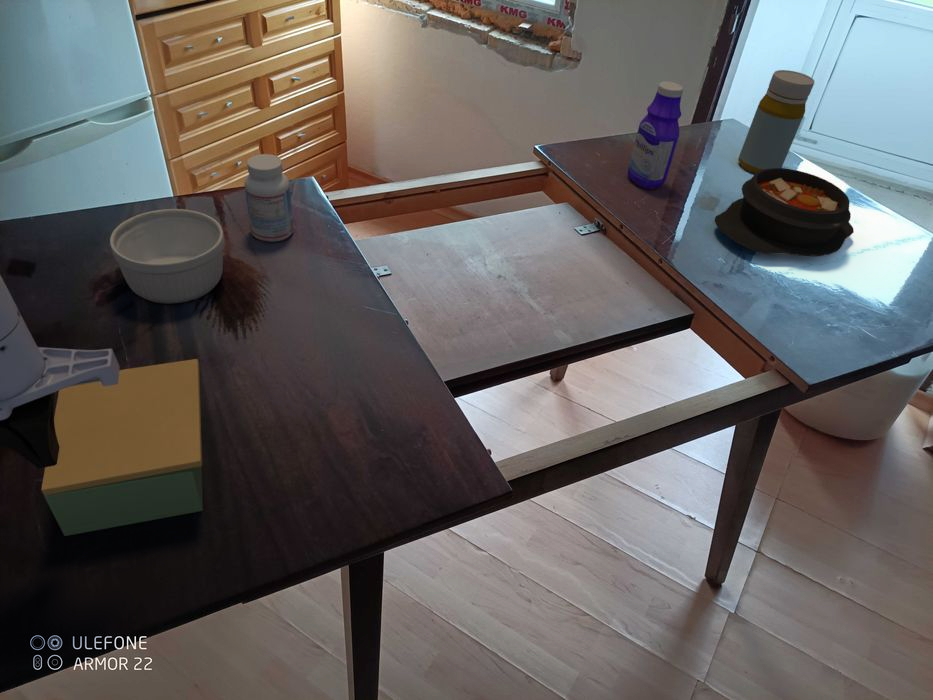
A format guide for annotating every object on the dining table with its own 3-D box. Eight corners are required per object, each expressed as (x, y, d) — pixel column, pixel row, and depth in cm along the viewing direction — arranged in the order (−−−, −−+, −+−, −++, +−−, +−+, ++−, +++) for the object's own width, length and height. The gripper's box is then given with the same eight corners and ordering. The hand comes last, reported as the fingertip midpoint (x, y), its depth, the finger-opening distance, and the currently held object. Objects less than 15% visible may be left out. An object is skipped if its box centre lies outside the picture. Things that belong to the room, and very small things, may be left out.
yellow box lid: (199, 364, 70) (197, 358, 69) (202, 466, 60) (200, 460, 60) (63, 384, 66) (60, 378, 66) (44, 496, 57) (40, 490, 56)
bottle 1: (619, 175, 125) (644, 79, 114) (643, 170, 128) (670, 76, 116) (645, 193, 121) (673, 95, 109) (669, 188, 123) (699, 92, 112)
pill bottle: (266, 217, 103) (258, 147, 96) (301, 228, 102) (296, 158, 95) (242, 236, 99) (231, 164, 92) (278, 247, 98) (271, 175, 90)
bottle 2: (728, 163, 134) (762, 73, 122) (751, 154, 138) (785, 66, 127) (764, 180, 129) (802, 88, 118) (787, 171, 134) (826, 81, 122)
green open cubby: (199, 408, 73) (190, 368, 70) (202, 510, 64) (192, 471, 60) (80, 425, 70) (63, 384, 66) (64, 536, 61) (43, 496, 57)
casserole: (767, 279, 103) (789, 231, 98) (686, 218, 115) (702, 172, 110) (875, 250, 113) (901, 205, 107) (790, 197, 125) (810, 154, 120)
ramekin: (242, 257, 95) (235, 213, 91) (213, 315, 85) (204, 269, 81) (145, 248, 95) (133, 203, 90) (104, 306, 85) (89, 259, 80)
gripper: (-181, 389, 41) (-69, 520, 50) (85, 347, 44) (144, 477, 53) (-143, 316, 45) (-47, 447, 55) (95, 283, 49) (147, 412, 58)
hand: (48, 457), depth 54 cm, fingers closed
